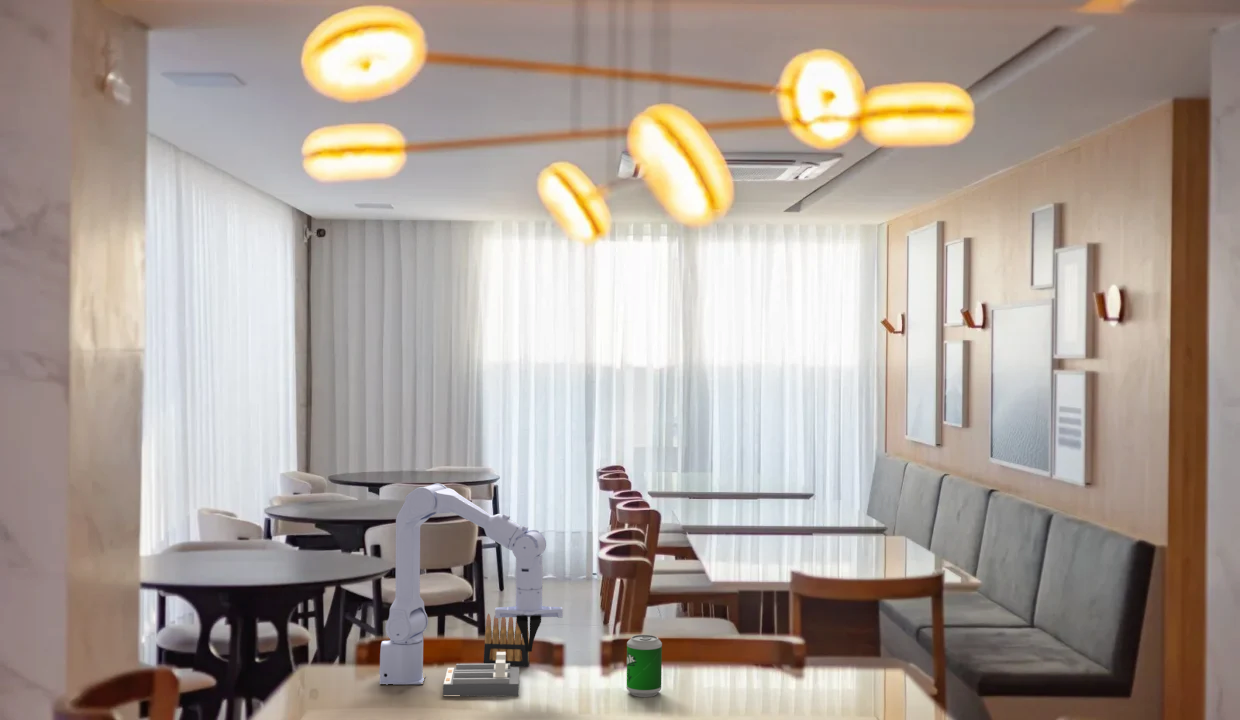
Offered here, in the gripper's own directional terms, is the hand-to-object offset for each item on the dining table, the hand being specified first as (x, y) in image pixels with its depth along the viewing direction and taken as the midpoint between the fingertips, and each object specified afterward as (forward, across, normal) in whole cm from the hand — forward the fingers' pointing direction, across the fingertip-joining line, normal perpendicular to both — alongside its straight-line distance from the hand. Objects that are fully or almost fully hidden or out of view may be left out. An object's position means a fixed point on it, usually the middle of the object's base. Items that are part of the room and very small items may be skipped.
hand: (528, 650), depth 258 cm
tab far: (+6, -6, +7) cm, 11 cm away
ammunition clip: (+9, -5, +22) cm, 25 cm away
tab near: (+6, -6, 0) cm, 8 cm away
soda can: (+9, +25, -2) cm, 27 cm away
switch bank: (+9, -10, +4) cm, 14 cm away
